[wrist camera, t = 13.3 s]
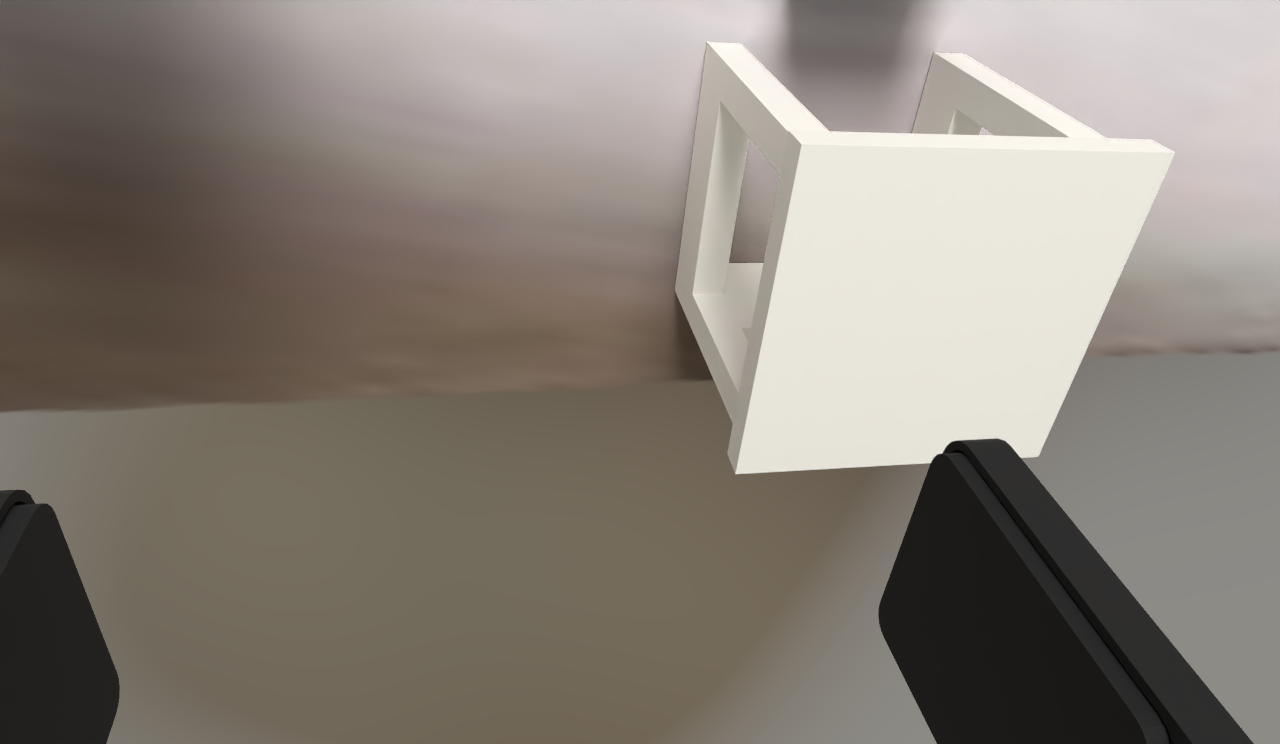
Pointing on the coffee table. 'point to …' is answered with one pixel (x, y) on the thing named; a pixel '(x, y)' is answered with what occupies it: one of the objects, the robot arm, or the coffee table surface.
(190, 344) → the coffee table surface
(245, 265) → the coffee table surface
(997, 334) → the white open frame box
